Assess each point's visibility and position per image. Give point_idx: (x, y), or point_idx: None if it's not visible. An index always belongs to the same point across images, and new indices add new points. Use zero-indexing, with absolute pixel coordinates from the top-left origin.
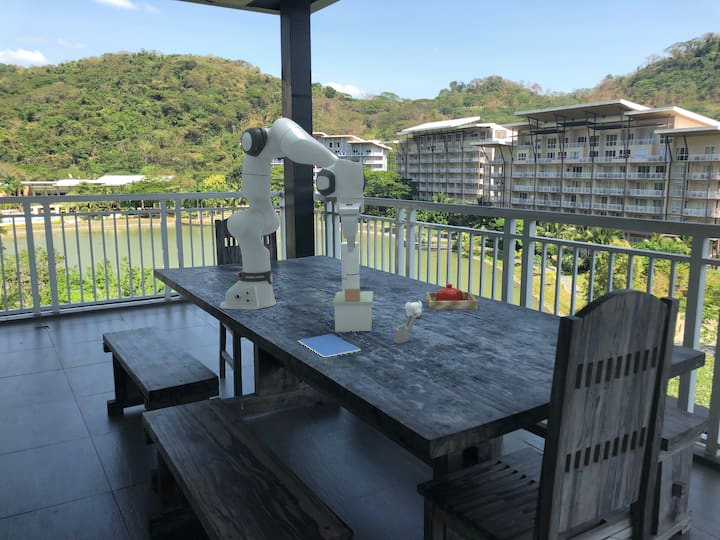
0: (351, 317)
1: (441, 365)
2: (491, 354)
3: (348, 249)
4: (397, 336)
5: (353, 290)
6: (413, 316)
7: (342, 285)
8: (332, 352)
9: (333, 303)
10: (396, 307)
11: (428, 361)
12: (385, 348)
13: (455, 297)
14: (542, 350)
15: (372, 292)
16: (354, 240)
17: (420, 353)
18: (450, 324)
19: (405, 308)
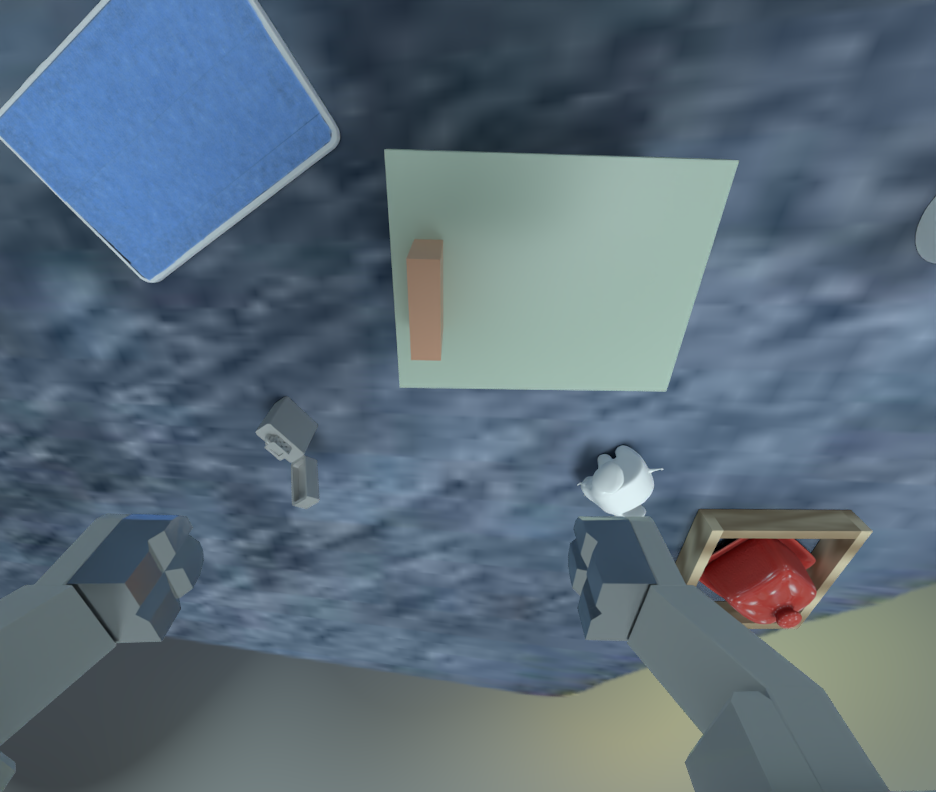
0: None
1: (104, 491)
2: (230, 581)
3: (83, 547)
4: (266, 416)
5: (410, 317)
6: (294, 504)
7: None
8: (57, 164)
9: (386, 155)
10: (778, 416)
11: (124, 468)
12: (211, 365)
13: (721, 595)
14: (282, 648)
15: (636, 388)
16: (662, 678)
17: (190, 455)
18: (498, 540)
19: (611, 462)
